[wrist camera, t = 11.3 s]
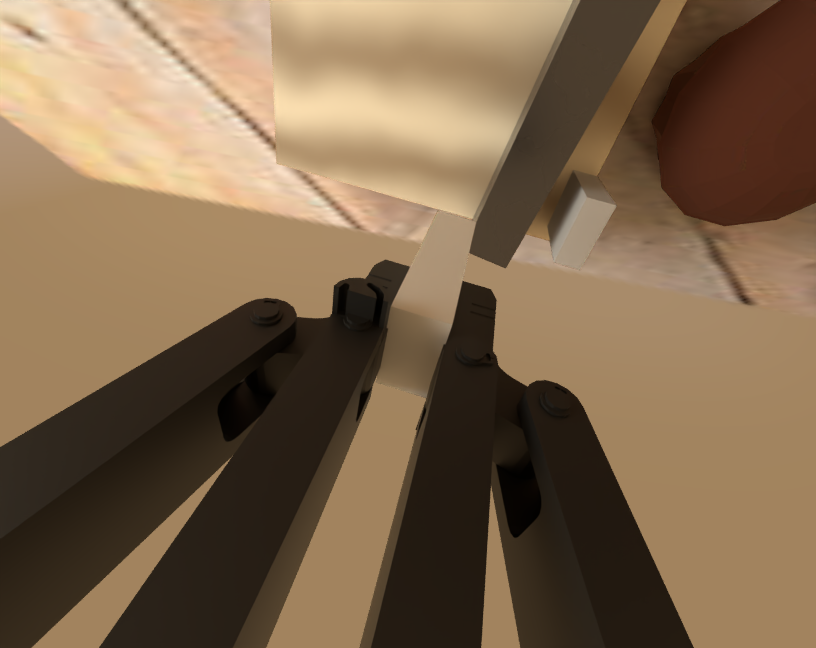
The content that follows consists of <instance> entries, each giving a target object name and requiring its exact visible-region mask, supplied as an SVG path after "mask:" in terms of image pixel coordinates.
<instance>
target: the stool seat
mask: <svg viewBox="0 0 816 648" xmlns="http://www.w3.org/2000/svg"><path fill="white" fill-rule="evenodd" d="M572 1H573V0H270V12H271V37H272V62H273V88H274V113H275V138H276V163H277V164H280V165H283V166H287V167H290V168H294V169H298V170H301V171H305V172H308V173H312V174H315V175H319V176H322V177H326V178H329V179H333V180H336V181H340V182H343V183H347V184H350V185H354V186H358V187H361V188H365V189H368V190H372V191H375V192H379V193H382V194H386V195H389V196H393V197H396V198H400V199H403V200H407V201H411V202H414V203H418V204H421V205H425V206H428V207H432V208H435V209H439V210H442V211H446V212H449V213H453V214H456V215H460V216H463V217H467V218H471V219H473V217H474V215H475V213H476V210H477V208H478V206H479V204H480V202H481V200H482V197H483V195H484V193H485V191H486V189H487V186H488V184H489V182H490V180H491V178H492V176H493V173H494V171H495V169H496V167H497V165H498V163H499V160H500V158H501V156H502V154H503V152H504V149H505V147H506V145H507V143H508V141H509V139H510V136H511V134H512V132H513V130H514V128H515V125H516V123H517V121H518V119H519V117H520V115H521V112H522V110H523V108H524V106H525V104H526V101H527V99H528V97H529V95H530V93H531V91H532V88H533V86H534V84H535V82H536V80H537V78H538V75H539V73H540V71H541V69H542V67H543V64H544V62H545V60H546V58H547V56H548V54H549V51H550V49H551V47H552V45H553V43H554V40H555V38H556V36H557V34H558V32H559V30H560V27H561V25H562V23H563V21H564V19H565V16H566V14H567V12H568V10H569V8H570V6H571V3H572ZM686 1H687V0H661V1H660V3H659V4H658V6H657V8H656V10H655V11H654V13H653V15H652V16H651V18H650V20H649V22H648V23H647V25H646V27H645V29H644V30H643V32H642V34H641V35H640V37H639V39H638V41H637V42H636V44H635V46H634V48H633V49H632V51H631V53H630V54H629V56H628V58H627V60H626V61H625V63H624V65H623V67H622V68H621V70H620V72H619V74H618V75H617V77H616V79H615V80H614V82H613V84H612V86H611V87H610V89H609V91H608V93H607V94H606V96H605V98H604V99H603V101H602V103H601V105H600V106H599V108H598V110H597V112H596V113H595V115H594V117H593V118H592V120H591V122H590V124H589V125H588V127H587V129H586V131H585V132H584V134H583V136H582V137H581V139H580V141H579V143H578V144H577V146H576V148H575V150H574V151H573V153H572V155H571V156H570V158H569V160H568V162H567V163H566V165H565V167H564V169H563V170H562V172H561V174H560V175H559V177H558V179H557V181H556V182H555V184H554V186H553V188H552V189H551V191H550V193H549V194H548V196H547V198H546V200H545V201H544V203H543V205H542V207H541V208H540V210H539V212H538V213H537V215H536V217H535V219H534V220H533V222H532V224H531V226H530V227H529V229H528V231H527V232H526V234H527V235H531V236H534V237H538V238H541V239H545V240H548V241H550V239H549V234H548V228H547V225H548V223H549V221H550V219H551V217H552V215H553V213H554V210H555V208H556V206H557V204H558V202H559V200H560V197H561V195H562V193H563V191H564V189H565V187H566V184H567V182H568V180H569V178H570V176H571V174H572V171H573V170H576V171H579V172H583V173H587V174H591V175H594V176H598V174H599V172H600V170H601V168H602V166H603V164H604V162H605V160H606V158H607V156H608V154H609V152H610V150H611V148H612V146H613V144H614V142H615V140H616V138H617V136H618V134H619V132H620V130H621V128H622V127H623V125H624V123H625V121H626V119H627V117H628V115H629V113H630V111H631V109H632V107H633V105H634V103H635V101H636V99H637V97H638V95H639V93H640V91H641V89H642V87H643V85H644V83H645V81H646V79H647V77H648V75H649V73H650V71H651V69H652V68H653V66H654V64H655V62H656V60H657V58H658V56H659V54H660V52H661V50H662V48H663V46H664V44H665V42H666V40H667V38H668V36H669V34H670V32H671V30H672V28H673V26H674V24H675V22H676V20H677V18H678V16H679V14H680V12H681V10H682V8H683V7H684V5H685V3H686Z"/></svg>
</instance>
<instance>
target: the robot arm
mask: <svg viewBox="0 0 816 648" xmlns="http://www.w3.org/2000/svg"><path fill="white" fill-rule="evenodd" d="M475 225H476V221H473V220H469V219H466V218H462V217H459V216H455V215H452V214H448V213H444V212H441V211H437V213H436V215H435V217H434V220H433V222H432V224H431V226H430V228H429V230H428V232H427V234H426V236H425V238H424V240H423V242H422V244H421V246H420V248H419V250H418V252H417V254H416V256H415V258H414V260H413V262H412V264H411V266H410V267H409V266H406V265H402V264H399V263H395V262H392V261H388V260H384V261H382V262H380V263H378V264H376V265H374V267H373V268H372V270H371V271H370V273H369V275H368V276H367V277H366V279H363V278H348V279H345V280H342V281H340V282H338V283H337V284H336V285H334V295H333V308H332V314H331V316H330V317H328V318H318V319H317V318H316V319H315V318H301V317H297V314H296V312H295V310H294V308H293V307H292V306H291V305H290V304H288V303H287V302H285V301H281V300H279V299H271V298H264V299H257V300H253V301H251V302H248V303H246V304H244V305H242V306H240V307H239V308H237V309H235V310H233V311H232V312H231V313H228V314H227V315H225V316H223V317H222V318H220V319H218V320H217V321H215V322H213V323H211V324H210V325H208V326H206V327H204V328H203V329H201V330H199V331H198V332H196V333H194V334H193V335H191V336H189V337H188V338H186V339H184V340H182V341H181V342H179V343H177V344H175V345H174V346H172V347H170V348H169V349H167V350H165V351H163V352H162V353H160V354H158V355H157V356H155V357H153V358H152V359H150V360H148V361H147V362H145V363H143V364H141V365H140V366H138V367H136V368H135V369H133V370H131V371H129V372H128V373H126V374H124V375H123V376H121V377H119V378H118V379H116V380H114V381H112V382H111V383H109V384H107V385H106V386H104V387H102V388H100V389H99V390H97V391H95V392H94V393H92V394H90V395H88V396H87V397H85V398H83V399H82V400H80V401H78V402H76V403H75V404H73V405H72V406H70V407H68V408H66V409H65V410H63V411H61V412H60V413H58V414H56V415H54V416H53V417H51V418H49V419H47V420H46V421H44V422H42V423H41V424H39V425H37V426H36V427H34V428H32V429H30V430H29V431H27V432H25V433H24V434H22V435H20V436H18V437H17V438H15V439H14V440H12V441H10V442H8V443H6V444H5V445H3V446H2V447H0V648H31V647H32V646H34V645H35V644H36V643H37V642H38V641H39V640H40V639H41V638H42V637H43V636H44V635H45V634H46V633H47V632H48V631H49V630H50V629H51V628H52V627H53V626H54V625H55V624H56V623H58V622H59V621H60V620H61V619H62V618H63V617H64V616H65V615H66V614H67V613H68V612H69V611H70V610H71V609H72V608H73V607H74V606H75V605H77V604H78V603H79V602H80V601H81V600H82V599H83V598H84V597H85V596H86V595H87V594H88V593H89V592H90V591H91V590H92V589H93V588H94V587H95V586H96V585H97V584H99V583H100V582H101V581H102V580H103V579H104V578H105V577H106V576H107V575H108V574H109V573H110V572H111V571H112V570H113V569H114V568H115V567H116V566H117V565H118V564H119V563H121V562H122V561H123V559H125V558H126V557H127V556H128V555H129V554H130V553H131V552H132V551H133V550H134V549H135V548H136V547H137V546H138V545H139V544H140V543H141V542H143V541H144V540H145V539H146V538H147V537H148V536H149V535H150V534H151V533H152V532H153V531H154V530H155V529H156V528H157V527H158V526H159V525H160V524H161V523H163V522H164V521H165V520H166V519H167V518H168V517H169V516H170V515H171V514H172V513H173V512H174V511H175V510H176V509H177V508H178V507H179V506H180V505H181V504H182V503H183V502H185V501H186V500H187V499H188V498H189V497H190V496H191V495H192V494H193V493H194V492H195V491H196V490H197V489H198V488H199V487H200V486H201V485H202V484H203V483H204V482H205V481H207V480H208V479H209V478H210V477H211V476H212V475H213V474H214V473H215V472H216V471H217V470H218V469H219V468H220V467H221V466H222V465H223V464H224V463H225V462H226V461H228V460H229V459H230V458H231V457H232V458H231V459H230V461H229V462H228V464H227V465H226V466H225V468H224V469H223V471H222V472H221V474H220V475H219V476H218V478H217V479H216V481H215V482H214V484H213V485H212V486H211V488H210V490H209V491H208V492H207V494H206V495H205V497H204V498H203V499H202V501H201V502H200V504H199V505H198V507H197V508H196V510H195V511H194V512H193V514H192V515H191V517H190V518H189V520H188V521H187V522H186V524H185V525H184V527H183V528H182V530H181V531H180V532H179V534H178V535H177V537H176V538H175V540H174V541H173V543H172V544H171V545H170V547H169V548H168V550H167V551H166V552H165V554H164V555H163V557H162V558H161V560H160V561H159V563H158V564H157V565H156V567H155V568H154V570H153V571H152V573H151V574H150V575H149V577H148V578H147V580H146V581H145V583H144V584H143V585H142V587H141V588H140V590H139V591H138V593H137V594H136V595H135V597H134V599H133V600H132V601H131V603H130V604H129V606H128V607H127V609H126V610H125V611H124V613H123V614H122V616H121V617H120V618H119V620H118V621H117V623H116V624H115V626H114V627H113V629H112V630H111V632H110V633H109V634H108V636H107V637H106V638H105V640H104V642H103V643H102V644H101V646H100V647H99V648H266V647H267V644H268V642H269V639H270V637H271V634H272V632H273V630H274V627H275V625H276V623H277V620H278V618H279V615H280V613H281V610H282V608H283V606H284V603H285V601H286V598H287V596H288V594H289V591H290V589H291V586H292V584H293V582H294V579H295V577H296V575H297V572H298V570H299V567H300V565H301V563H302V560H303V558H304V555H305V553H306V551H307V548H308V546H309V543H310V541H311V538H312V536H313V534H314V531H315V529H316V526H317V524H318V522H319V519H320V517H321V515H322V512H323V510H324V507H325V505H326V502H327V500H328V498H329V495H330V493H331V491H332V488H333V486H334V483H335V481H336V479H337V476H338V474H339V471H340V469H341V467H342V464H343V462H344V459H345V457H346V455H347V452H348V450H349V447H350V445H351V442H352V440H353V438H354V435H355V433H356V431H357V428H358V426H359V423H360V421H361V419H362V416H363V414H364V411H365V409H366V407H367V404H368V402H369V399H370V397H371V391H372V386H373V383H374V381H375V379H376V376H377V379H376V382H377V383H380V384H383V385H386V386H389V387H393V388H396V389H399V390H402V391H405V392H408V393H411V394H415V395H418V396H421V397H424V398H426V402H425V405H424V407H423V410H422V413H421V416H420V419H419V422H418V425H417V427H416V430H417V432H416V436H415V439H414V444H413V447H412V451H411V455H410V459H409V462H408V466H407V470H406V474H405V477H404V481H403V485H402V489H401V492H400V496H399V500H398V504H397V508H396V512H395V515H394V519H393V523H392V526H391V530H390V534H389V538H388V542H387V546H386V549H385V553H384V557H383V561H382V565H381V568H380V572H379V576H378V580H377V583H376V587H375V591H374V595H373V599H372V602H371V606H370V610H369V614H368V618H367V621H366V625H365V629H364V633H363V637H362V640H361V644H360V648H481V641H482V625H483V608H484V591H485V575H486V557H487V540H488V523H489V507H490V490H491V486H492V492H493V498H494V503H495V509H496V514H497V520H498V525H499V531H500V537H501V542H502V548H503V553H504V559H505V564H506V570H507V576H508V581H509V587H510V592H511V597H512V603H513V609H514V613H515V619H516V625H517V631H518V637H519V642H520V648H694V647H693V645H692V643H691V641H690V639H689V637H688V634H687V632H686V630H685V628H684V625H683V623H682V621H681V619H680V617H679V615H678V612H677V610H676V608H675V606H674V604H673V601H672V599H671V597H670V595H669V593H668V591H667V588H666V586H665V584H664V582H663V580H662V578H661V575H660V573H659V571H658V569H657V567H656V564H655V562H654V560H653V558H652V556H651V554H650V552H649V549H648V547H647V545H646V543H645V541H644V538H643V536H642V534H641V532H640V530H639V528H638V525H637V523H636V521H635V519H634V517H633V515H632V512H631V510H630V508H629V506H628V504H627V501H626V499H625V497H624V495H623V493H622V490H621V488H620V486H619V484H618V482H617V479H616V477H615V475H614V473H613V471H612V469H611V466H610V464H609V462H608V460H607V458H606V456H605V453H604V451H603V449H602V447H601V445H600V442H599V440H598V438H597V436H596V434H595V432H594V429H593V427H592V425H591V423H590V421H589V419H588V416H587V414H586V412H585V410H584V408H583V406H582V405H581V403H580V401H579V400H578V398H577V397H576V396H575V395H574V394H572V393H571V392H570V391H569V390H568V389H566V388H565V387H563V386H561V385H559V384H557V383H554V382H550V381H546V380H544V381H535V382H533V383H531V384H529V386H528V387H527V386H525V385H524V384H522V383H520V382H519V381H517V380H515V379H513V378H512V377H510V376H509V375H507V374H506V373H505V372H504V371H503V370H502V369H501V368H500V367H499V366H498V361H497V357H496V355H495V354H494V352H493V339H494V326H495V314H496V312H495V310H496V298H495V296H494V294H493V292H492V291H491V289H488V288H485V287H481V286H478V285H474V284H471V283H468V282H464V281H463V277H464V272H465V268H466V264H467V259H468V255H469V251H470V246H471V242H472V238H473V233H474V229H475Z"/></svg>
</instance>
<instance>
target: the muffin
mask: <svg viewBox="0 0 816 648" xmlns="http://www.w3.org/2000/svg"><path fill="white" fill-rule="evenodd" d="M652 124H653V128H654V131H655V135H656V138H657V150H658V159H659V163H660V175H661V186H662V189H663V190H664V191H665V192H666V193H667V194H668V196H669V197H670V198H671V199H672V200H673V201H674V202H675V204H676V205H677V206H678V207H679V208H680V209H681V211H682V212H683V213H684V214H685V215H687V216H691V217H694V218H698V219H701V220H705V221H708V222H712V223H715V224H719V225H722V226H730V225H738V224H746V223H754V222H762V221H770V220H777V219H779V218H781V217H784V216H786V215H788V214H791V213H793V212H795V211H797V210H800V209H802V208H804V207H807V206H809V205H811V204H814V203H816V0H780V1H779V2H777V3H776V4H774V5H773V6H771V7H770V8H768V9H767V10H765V11H764V12H762V13H761V14H760V15H758V16H757V17H755V18H754V19H752V20H751V21H749V22H748V23H746V24H745V25H743V26H741V27H739V28H738V29H736V30H734V31H732V32H730V33H728V34H726V35H724V36H722V37H720V38H719V39H718V40H717V41H716V42H715V43H714V44H713V45H712V46H711V47H710V48H708V49H707V50H706V51H705V52H704V53H703V54H702V55H701V56H700V57H699V58H698V59H696V60H695V61H693V62H692V63H691V64H689V65H688V66H686V67H685V68H683V69H682V70H681V71H679V72H678V73H676V74H675V75H674V76H673V78H672V81H671V83H670V86H669V89H668V91H667V94H666V96H665V99H664V101H663V102H662V104H661V106H660V108H659V109H658V111H657V113H656V115H655V116H654V118H653V120H652Z"/></svg>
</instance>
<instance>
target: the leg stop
mask: <svg viewBox="0 0 816 648" xmlns="http://www.w3.org/2000/svg"><path fill="white" fill-rule="evenodd" d="M616 206H617V205H616V203H615V202H614V200H613V199H612V197H611V196H610V194H609V193H608V191H607V190H606V189H605V187H604V186H603V184H602V183H601V181H600V180H599V178H598V177H597V176H594V175H591V174H587V173H583V172H579V171H576V170H573V171H572V174H571V176H570V178H569V180H568V182H567V184H566V187H565V189H564V191H563V193H562V195H561V197H560V200H559V202H558V204H557V206H556V208H555V210H554V213H553V215H552V217H551V219H550V221H549V223H548V225H547V228H548V234H549V239H550V245H551V251H552V256H553V262H554V263H556V264H560V265H563V266H567V267H570V268H574V269H577V270H580V269H581V268H582V266H583V264H584V262H585V261H586V259H587V257H588V255H589V254H590V252H591V250H592V248H593V247H594V245H595V243H596V241H597V240H598V238H599V236H600V234H601V233H602V231H603V229H604V227H605V226H606V224H607V222H608V220H609V219H610V217H611V215H612V213H613V212H614V210H615V208H616Z"/></svg>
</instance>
